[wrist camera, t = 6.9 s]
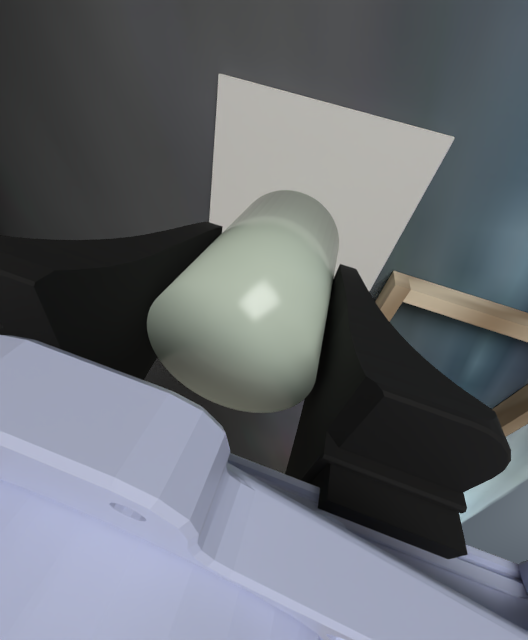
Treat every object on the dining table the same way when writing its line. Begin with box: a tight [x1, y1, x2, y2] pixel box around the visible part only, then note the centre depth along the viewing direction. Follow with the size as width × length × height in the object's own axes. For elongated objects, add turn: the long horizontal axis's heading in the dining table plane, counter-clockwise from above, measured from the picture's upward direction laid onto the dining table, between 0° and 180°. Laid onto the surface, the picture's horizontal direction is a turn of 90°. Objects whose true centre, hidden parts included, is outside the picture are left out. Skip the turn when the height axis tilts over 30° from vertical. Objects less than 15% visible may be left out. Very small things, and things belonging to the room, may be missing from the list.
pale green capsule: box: [147, 190, 339, 413], centre depth 11 cm, size 6×5×7 cm
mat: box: [209, 74, 455, 291], centre depth 15 cm, size 10×10×1 cm
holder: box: [375, 271, 528, 437], centre depth 18 cm, size 12×12×2 cm
